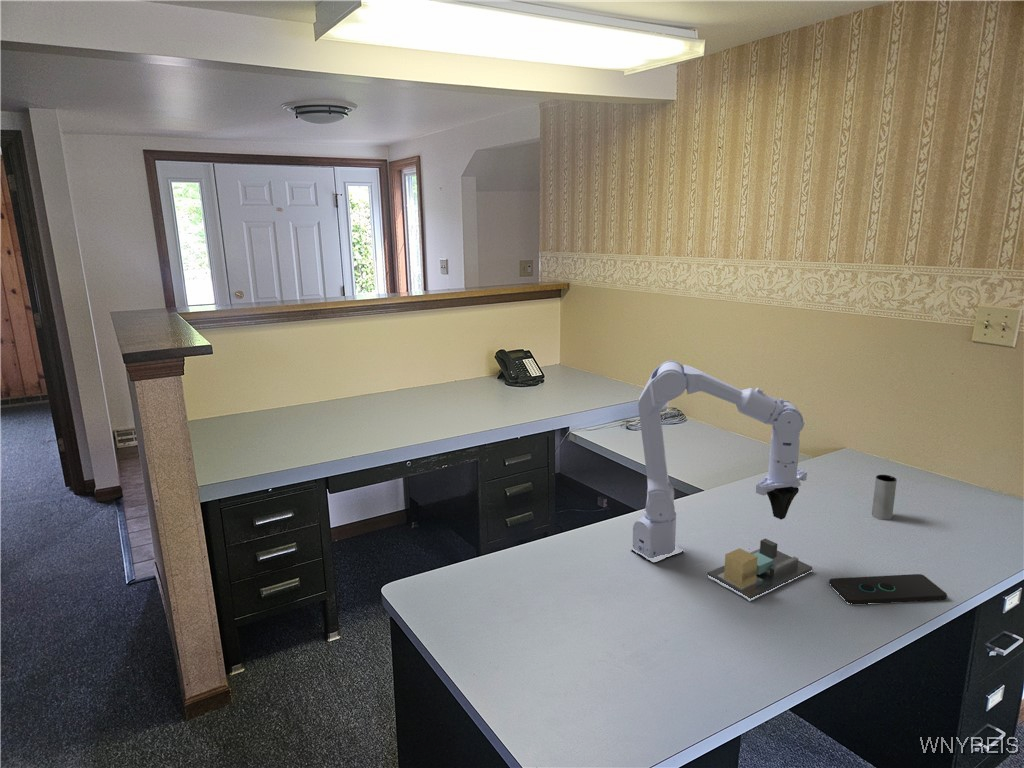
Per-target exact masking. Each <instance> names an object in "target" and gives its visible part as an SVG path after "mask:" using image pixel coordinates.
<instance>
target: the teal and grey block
mask: <svg viewBox="0 0 1024 768" xmlns="http://www.w3.org/2000/svg"><path fill="white" fill-rule="evenodd" d="M759 549H760V553H758V552H757V553H755V554H753V555H755V556H757V557H758V560H757V574H758V575H760V574H762V573H764V572H766V571H768V570H770V567H772V566H773V562H774V560H773V559H772V558H775V557H777V551H778V543H777V542H774V541H772V540H770V539H768V538H763V539H761V540H760V544H759Z"/></svg>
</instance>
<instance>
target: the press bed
mask: <svg viewBox="0 0 1024 768" xmlns="http://www.w3.org/2000/svg"><path fill="white" fill-rule="evenodd" d="M757 552H758V553H760V548H758V549H756V550H754V551H750V553H751V554H755V553H757ZM772 559H773V560H774V562H773V566H772V567H770V570H768V571H766V572H764V573H762V574H760V575H758V574H757V575H756V579H755V580H753V581H750V582H748V583H746V584H744V585H740V584H738V583H736V582H734V581H732V580H731V579H729V578H727V577H725V576H724V569H725V564H724V565H723V566H720V567H717V568H716V569H712V570H711V571H709V572H707V575H709V576H711V577H713V578H715V579H717V580H719V581H720V582H722V583H724V584H726V585H728V586H729V587H731V588H733V589H734V590H736V591H738V592H740V593H742V594H743V595H745V596H747V597H748V598H750V599H751V598H753V597H755V596H757V595H760V594H762V593H764V592H766V591H769V590H771V589H773V588H775V587H777V586H779V585H781V584H783V583H786V582H788V581H789V580H792V579H794V578H796V577H798V576H800V575H802V574H805V573H807V572H809V571H811V570H812V571H813V566H812V565H809V564H807V563H805V562H803V561H801V560H799V557H796V556H790V555H788V554H785V553H783V552H781V551H779V550H777V557H775V558H772Z"/></svg>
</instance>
